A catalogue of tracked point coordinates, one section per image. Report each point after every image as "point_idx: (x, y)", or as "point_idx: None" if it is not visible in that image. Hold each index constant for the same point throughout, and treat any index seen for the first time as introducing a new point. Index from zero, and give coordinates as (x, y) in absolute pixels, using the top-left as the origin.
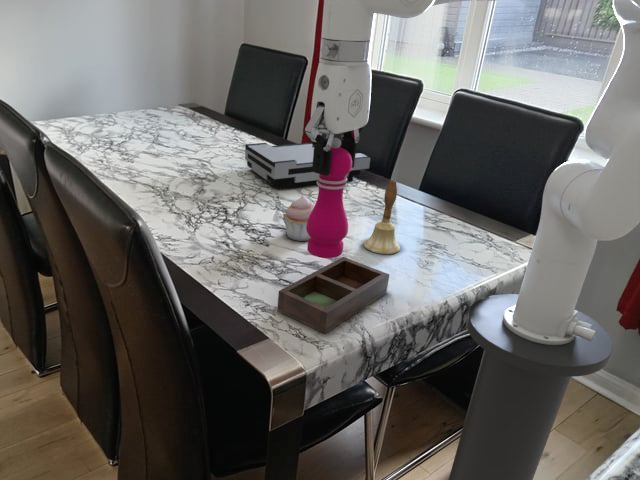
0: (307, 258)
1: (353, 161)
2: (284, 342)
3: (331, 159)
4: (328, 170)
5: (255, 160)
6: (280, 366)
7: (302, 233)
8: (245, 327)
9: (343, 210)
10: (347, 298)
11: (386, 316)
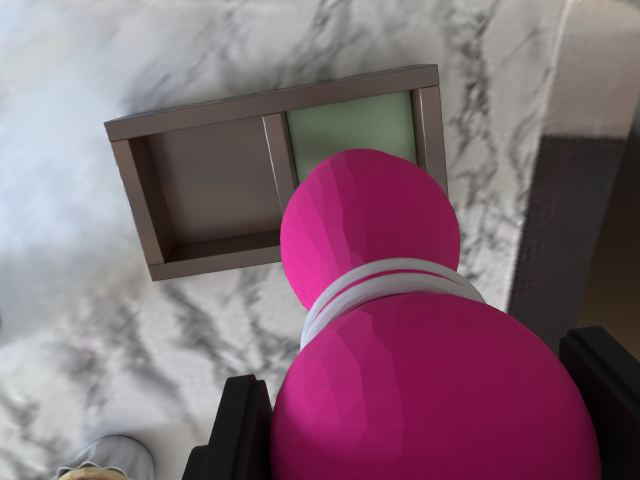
0: (185, 368)
1: (236, 401)
2: (527, 97)
3: (630, 416)
4: (620, 345)
5: None
6: (613, 22)
7: (131, 455)
8: (547, 203)
9: (343, 217)
10: (327, 90)
11: (218, 26)
